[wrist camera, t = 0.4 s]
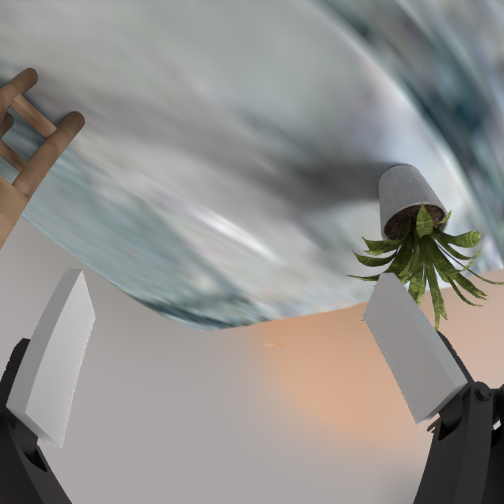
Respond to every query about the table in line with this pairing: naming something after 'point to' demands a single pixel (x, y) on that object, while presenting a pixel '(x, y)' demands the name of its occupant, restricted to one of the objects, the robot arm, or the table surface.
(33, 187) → the stool
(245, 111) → the table surface
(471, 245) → the house plant
